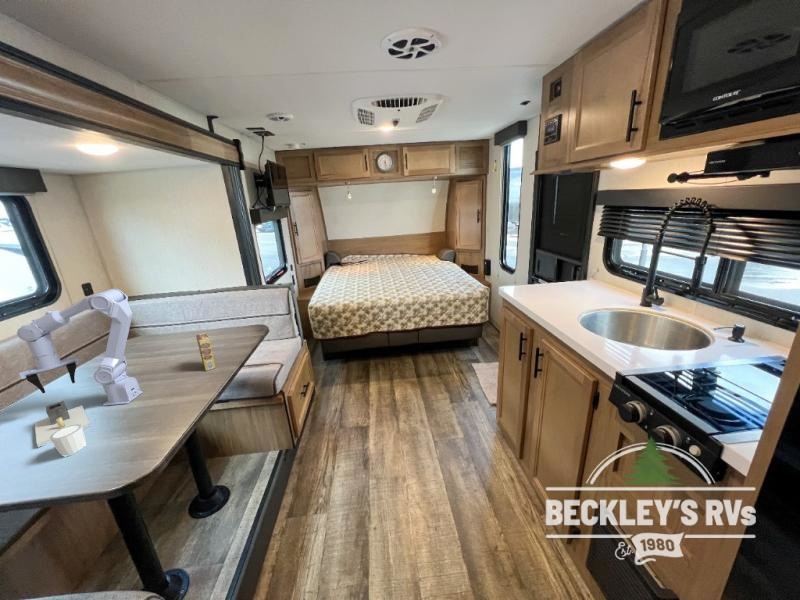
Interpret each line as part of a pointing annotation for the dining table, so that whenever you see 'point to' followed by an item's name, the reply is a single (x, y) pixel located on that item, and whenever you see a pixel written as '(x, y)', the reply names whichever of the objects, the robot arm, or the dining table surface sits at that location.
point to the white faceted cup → (69, 439)
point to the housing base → (59, 424)
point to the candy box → (205, 351)
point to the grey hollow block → (57, 412)
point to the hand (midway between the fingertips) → (59, 387)
